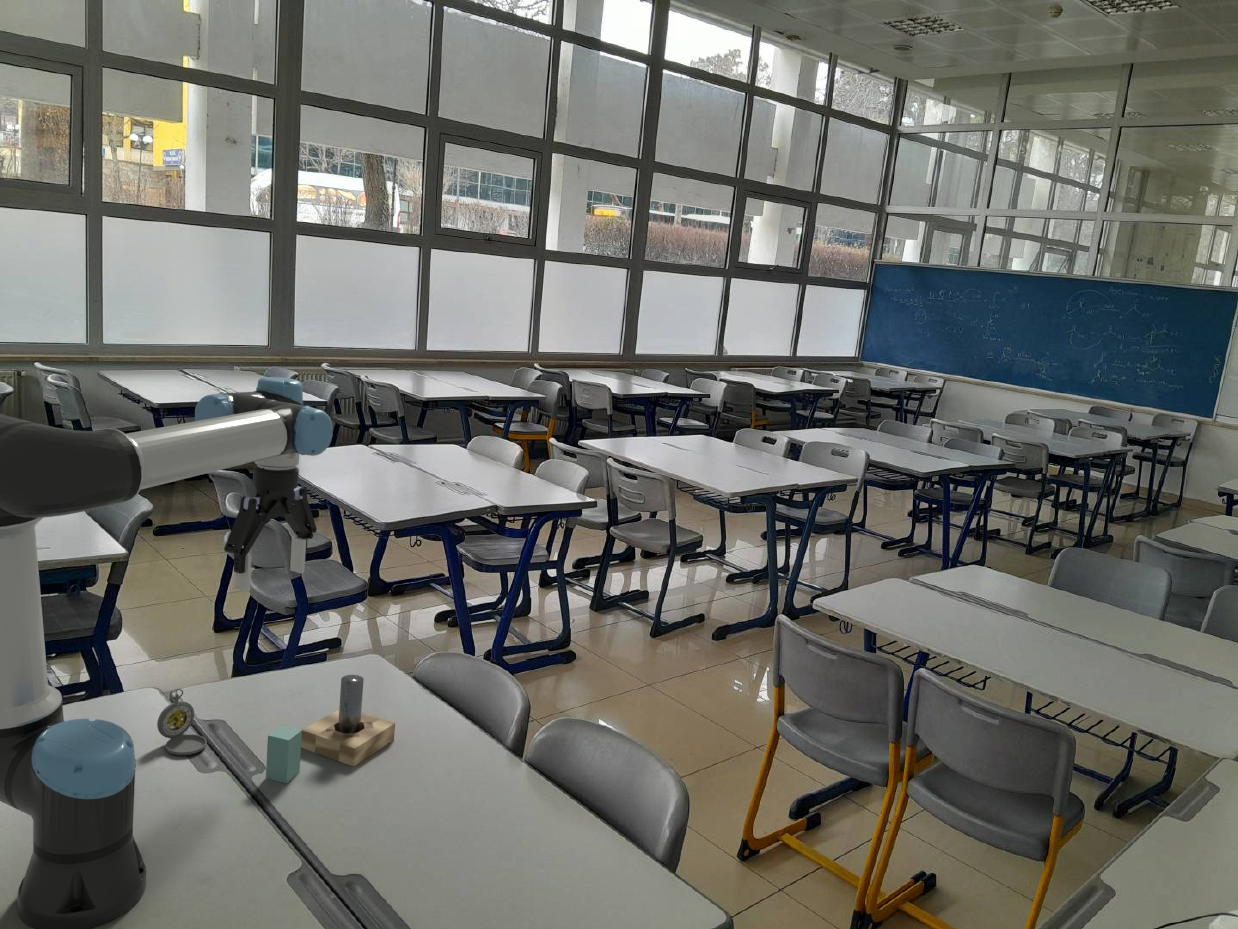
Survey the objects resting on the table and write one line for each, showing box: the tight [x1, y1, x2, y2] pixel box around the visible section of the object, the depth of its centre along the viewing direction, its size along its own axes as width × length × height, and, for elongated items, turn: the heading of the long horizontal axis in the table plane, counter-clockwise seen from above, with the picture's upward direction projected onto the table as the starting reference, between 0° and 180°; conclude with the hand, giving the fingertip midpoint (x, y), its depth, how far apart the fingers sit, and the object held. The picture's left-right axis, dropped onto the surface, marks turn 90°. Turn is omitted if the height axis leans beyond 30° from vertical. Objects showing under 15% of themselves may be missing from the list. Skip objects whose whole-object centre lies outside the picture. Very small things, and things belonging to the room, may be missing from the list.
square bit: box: [265, 724, 303, 784], centre depth 160 cm, size 4×4×8 cm
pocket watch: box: [156, 688, 208, 756], centre depth 165 cm, size 8×8×10 cm
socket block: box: [301, 709, 396, 767], centre depth 173 cm, size 12×12×4 cm
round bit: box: [338, 674, 364, 734], centre depth 172 cm, size 4×4×13 cm
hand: (270, 580), depth 167 cm, fingers open, 13 cm apart
